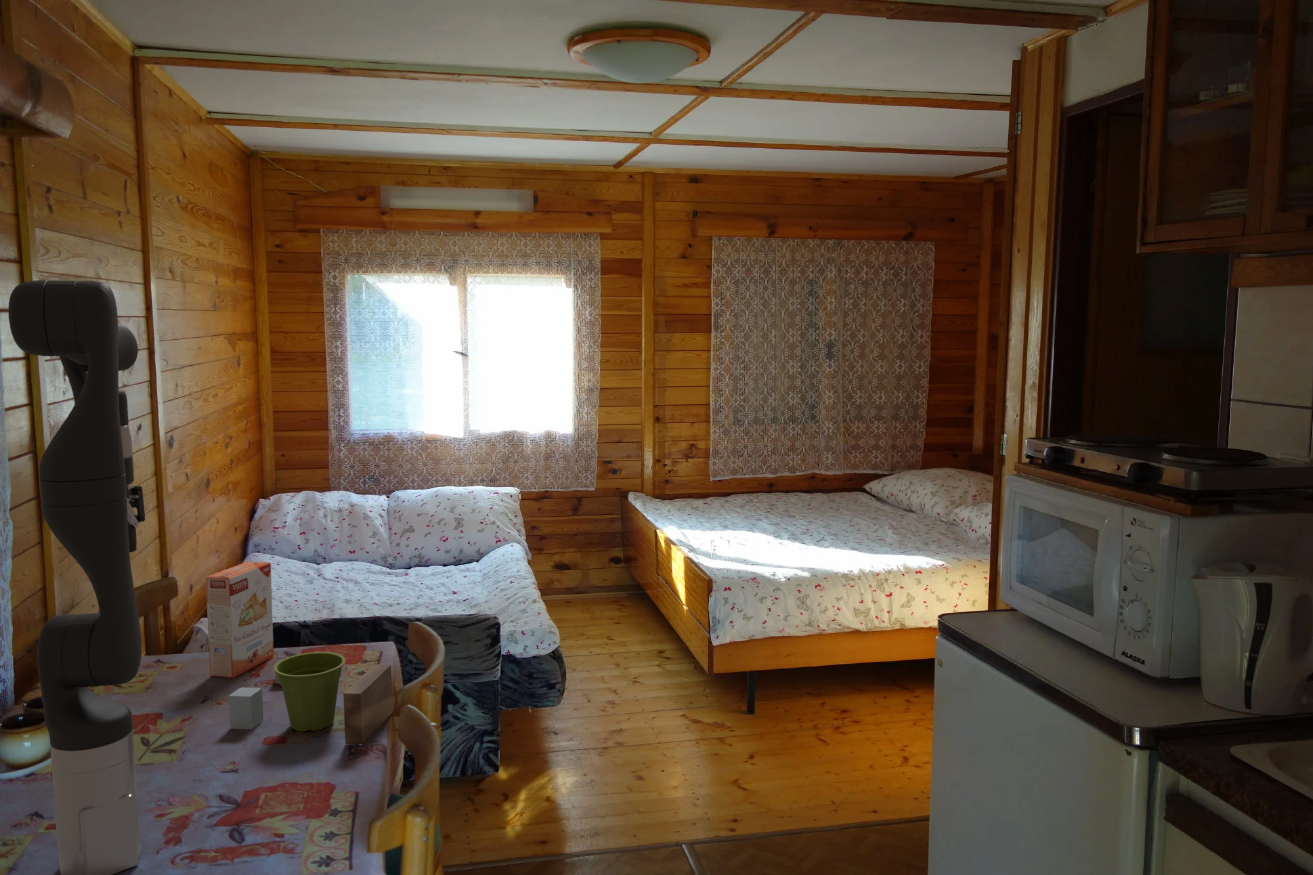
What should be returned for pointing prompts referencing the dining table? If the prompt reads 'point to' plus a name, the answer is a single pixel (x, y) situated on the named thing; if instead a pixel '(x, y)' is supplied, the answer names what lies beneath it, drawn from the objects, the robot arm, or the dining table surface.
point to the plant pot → (310, 688)
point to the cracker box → (239, 618)
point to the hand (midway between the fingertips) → (111, 557)
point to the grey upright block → (246, 708)
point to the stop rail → (367, 704)
